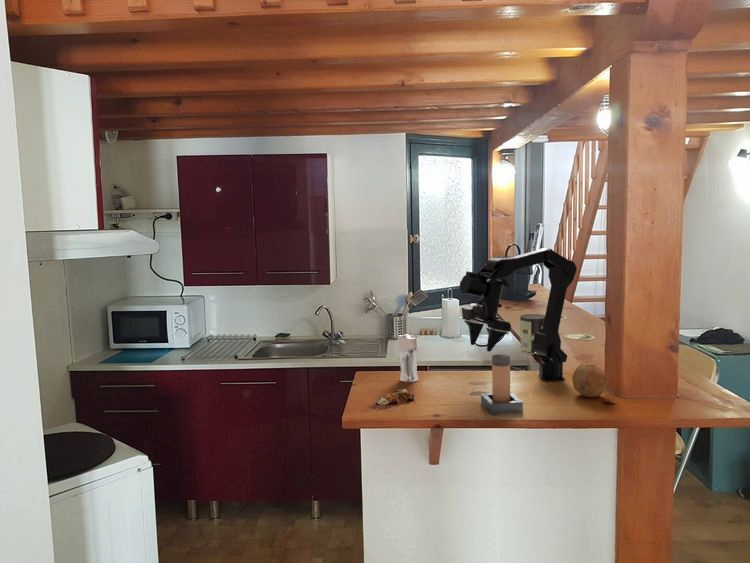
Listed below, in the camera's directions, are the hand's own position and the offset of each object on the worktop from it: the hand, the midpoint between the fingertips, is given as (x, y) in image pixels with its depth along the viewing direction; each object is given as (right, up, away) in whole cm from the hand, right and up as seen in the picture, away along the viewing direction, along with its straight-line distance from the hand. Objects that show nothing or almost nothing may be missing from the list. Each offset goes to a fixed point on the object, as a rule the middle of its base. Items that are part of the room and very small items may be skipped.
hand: (480, 348), depth 172 cm
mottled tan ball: (+31, -14, -7) cm, 35 cm away
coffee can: (+30, -7, +46) cm, 55 cm away
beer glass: (-21, -13, +16) cm, 29 cm away
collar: (+3, -15, -14) cm, 21 cm away
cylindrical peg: (+3, -15, -14) cm, 21 cm away
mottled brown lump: (-27, -16, -4) cm, 31 cm away
